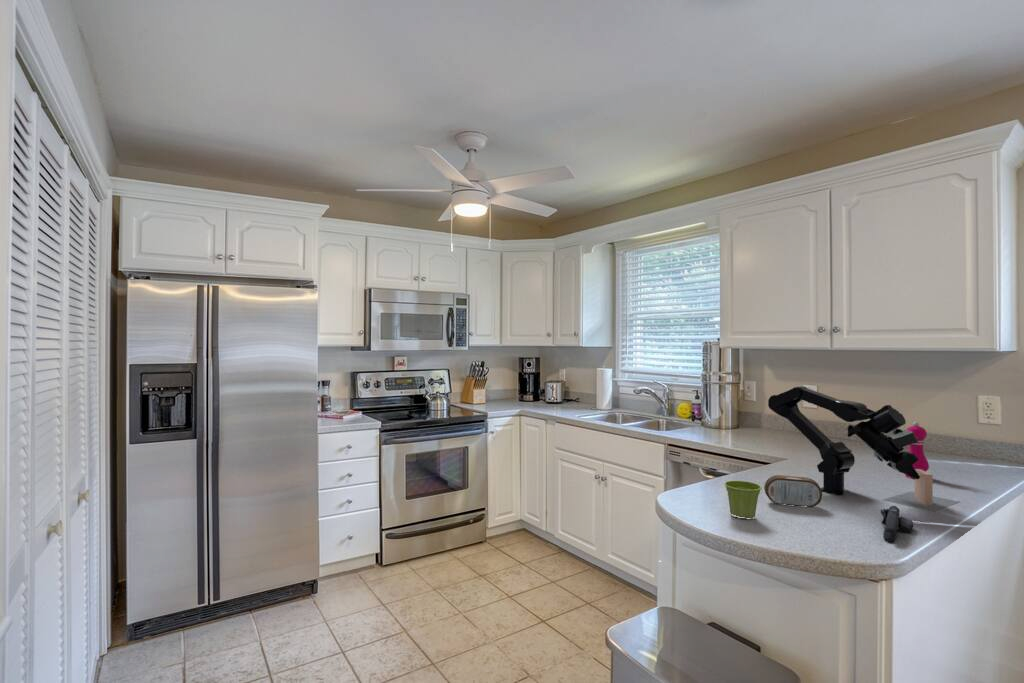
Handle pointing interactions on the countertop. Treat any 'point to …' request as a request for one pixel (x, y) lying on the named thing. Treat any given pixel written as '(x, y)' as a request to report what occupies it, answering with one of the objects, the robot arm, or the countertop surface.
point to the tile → (924, 487)
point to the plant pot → (743, 498)
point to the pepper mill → (918, 447)
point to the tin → (793, 491)
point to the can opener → (894, 523)
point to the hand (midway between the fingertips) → (918, 478)
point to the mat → (910, 500)
